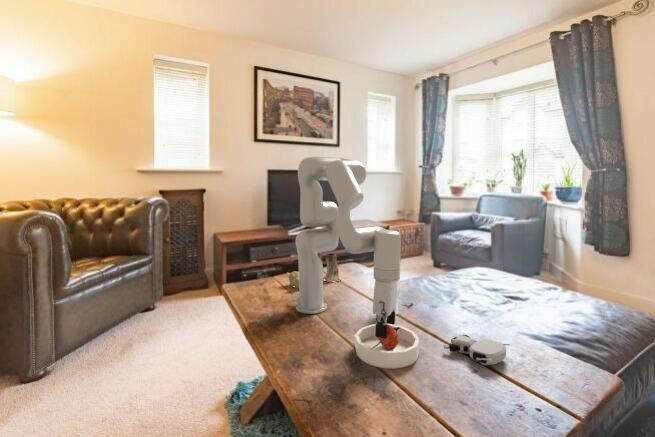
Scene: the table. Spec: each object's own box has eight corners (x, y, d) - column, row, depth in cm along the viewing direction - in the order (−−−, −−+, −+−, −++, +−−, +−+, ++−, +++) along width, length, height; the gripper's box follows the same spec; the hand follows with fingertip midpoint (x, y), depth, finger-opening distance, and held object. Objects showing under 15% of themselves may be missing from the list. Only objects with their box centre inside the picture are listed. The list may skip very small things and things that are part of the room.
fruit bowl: (347, 360, 92) (346, 344, 92) (366, 333, 109) (366, 320, 108) (412, 374, 85) (412, 358, 84) (422, 343, 101) (422, 329, 101)
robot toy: (440, 356, 96) (494, 375, 84) (440, 341, 95) (493, 357, 84) (461, 342, 104) (512, 358, 92) (461, 328, 103) (512, 342, 92)
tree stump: (326, 283, 164) (326, 257, 162) (319, 278, 173) (319, 253, 172) (344, 281, 167) (344, 255, 166) (337, 276, 176) (337, 252, 175)
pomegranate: (379, 362, 93) (408, 343, 91) (363, 341, 94) (392, 321, 92) (380, 352, 100) (407, 334, 99) (365, 332, 101) (392, 314, 100)
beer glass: (399, 316, 122) (400, 277, 121) (380, 315, 124) (381, 276, 122) (399, 309, 129) (400, 272, 128) (381, 308, 130) (381, 271, 129)
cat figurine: (294, 279, 152) (286, 266, 161) (289, 292, 153) (281, 278, 163) (309, 281, 156) (300, 268, 166) (304, 294, 157) (296, 280, 167)
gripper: (381, 264, 104) (380, 316, 106) (365, 280, 88) (364, 340, 90) (405, 267, 101) (404, 320, 103) (392, 283, 85) (391, 346, 87)
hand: (385, 330), depth 96 cm, fingers open, 9 cm apart
